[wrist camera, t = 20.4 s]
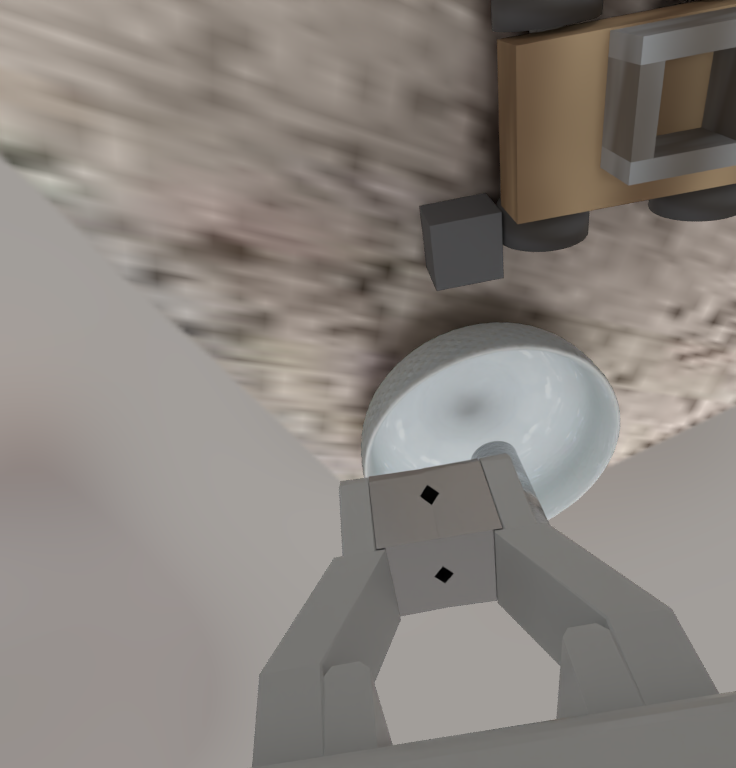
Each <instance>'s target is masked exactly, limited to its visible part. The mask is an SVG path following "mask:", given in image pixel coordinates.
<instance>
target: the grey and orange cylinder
mask: <svg viewBox="0 0 736 768" xmlns="http://www.w3.org/2000/svg"><path fill="white" fill-rule="evenodd" d="M504 453H507V454H508V455H509V456H510V458H511V460H512V463H513V465H514V468H515V470H516V472H517V475H518V477H519V480H520V482H521V485H522V487H523V490H524V492H525V494H526V497H527V499H528V502H529V504H530V507H531V509H532V511H533V514H534V516H535V519H536V521H537V524H538V523H548V524H549V522H548V520H547V518H546V515H545V513H544V511H543V509H542V507H541V504H540V502H539V500H538V498H537V496H536V494H535V491H534V489H533V487H532V485H531V483H530V480H529V478H528V476H527V474H526V472H525V469H524V467H523V465H522V463H521V461H520V459H519V456H518V454H517V452H516V450H515V448H514V447H513V446H512V445H511V444H509V443H507V442H504V441H493V442H489V443H486V444H484V445H482V446H480V447H479V448H478V449H477V450H476V451H475V452H474V453H473V455H472V457H471V459H478V458H482V457H487V456H493V455H498V454H504ZM549 525H550V524H549Z"/></svg>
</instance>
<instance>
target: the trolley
mask: <svg viewBox="0 0 736 768" xmlns="http://www.w3.org/2000/svg"><path fill="white" fill-rule="evenodd" d="M602 10H603V0H491V14H492V31H494V32H520V31H529V34H523V35H518V36H513V37H508V38H503V39H497V63H498V103H499V143H500V183H501V197H500V198H499V199H498V201H497V207H498V208H499V210H500V211H501V213H502V242H503V245H505V246H507V247H509V248H512V249H515V250H520V251H528V252H546V251H554V250H560V249H564V248H567V247H571V246H573V245H575V244H578V243H579V242H581V241H582V240H584V239H585V238H586V236H587V235H588V226H589V211H591V210H597V209H602V208H607V207H613V206H618V205H623V204H629V203H634V202H639V201H644V200H649V203H648V207H649V209H650V210H651V211H652V212H653V213H655V214H657V215H659V216H662V217H665V218H669V219H674V220H680V221H713V220H720V219H725V218H729V217H732V216H735V215H736V0H701V1H695V2H690V3H685V4H680V5H674V6H669V7H664V8H659V9H654V10H648V11H643V12H638V13H633V14H628V15H622V16H617V17H612V18H607V19H602V20H596V21H591V22H586V23H581V24H575V25H570V26H565V27H563V25H569V24H573V23H578V22H582V21H586V20H590V19H593V18H596V17H598V16H600V15H602Z"/></svg>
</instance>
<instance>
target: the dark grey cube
mask: <svg viewBox="0 0 736 768" xmlns="http://www.w3.org/2000/svg"><path fill="white" fill-rule="evenodd" d="M419 207H420V215H421V224H422V232H423V241H424V250H425V258H426V267H427V270H428V272H429V274H430V276H431V279H432V281H433V283H434V286H435V288H436V290H437V291H439V290H444V289H449V288H455V287H460V286H465V285H470V284H475V283H480V282H485V281H490V280H495V279H501V278H504V272H503V242H502V213H501V211H500V210H499V208H498V207H497V206H496V205H495V204H494V203H493V201H492V200H491V199H490V198H489V197H488V195H487V194H486V193H483V194H478V195H473V196H468V197H463V198H458V199H453V200H448V201H443V202H438V203H433V204H428V205H422V206H419Z"/></svg>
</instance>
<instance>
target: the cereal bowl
mask: <svg viewBox="0 0 736 768" xmlns="http://www.w3.org/2000/svg"><path fill="white" fill-rule="evenodd" d="M619 431H620V410H619V405H618V401H617V398H616V396H615V393H614V391H613V388H612V387H611V385H610V383H609V382H608V380H607V378H606V377H605V375H604V374H603V373H602V372H601V371H600V370H599V368H598V367H597V366H596V365H595V364H594V363H593V362H592V361H591V360H590V359H589V358H588V357H587V356H586V355H585V354H584V353H583V352H582V351H580V350H579V349H578V348H576V347H575V346H574V345H572V344H571V343H569V342H567V341H566V340H565V339H563V338H562V337H559V336H557V335H555V334H553V333H551V332H549V331H545V330H543V329H541V328H536V327H533V326H531V325H523V324H520V323H519V324H517V323H509V322H505V323H499V322H495V323H492V322H491V323H486V324H482V323H481V324H476V325H471V326H466V327H463V328H459V329H457V330H452V331H450V332H447V333H445V334H443V335H439V336H437V337H436V338H434V339H431V340H430V341H428V342H425V343H424V344H423V345H421V346H419V347H418V348H417V349H415V350H413V351H412V352H411V353H410V354H408V355H407V356H406V357H405V358H404V359H403V360H402V361H401V362H399V363H398V364H397V365H396V366H395V367H394V368H393V370H391V372H390V373H388V375H387V376H386V378H385V379H384V380H383V382H382V383H381V384H380V386H379V388H378V389H377V390H376V392H375V394H374V396H373V399H372V401H371V402H370V404H369V409H368V411H367V413H366V417H365V421H364V424H363V431H362V442H361V449H362V450H361V456H362V467H363V475H364V478H367V477H368V478H369V476H376V475H383V474H390V473H397V472H403V471H410V470H417V469H423V468H427V467H432V466H438V465H444V464H449V463H455V462H460V461H466V460H471V457H472V455H473V453H474V452H475V451H476V450H477V449H478V448H479V447H480V446H482V445H484V444H486V443H489V442H493V441H504V442H507V443H509V444H511V445H512V446H513V447H514V448H515V450H516V452H517V454H518V456H519V459H520V461H521V463H522V465H523V467H524V469H525V472H526V474H527V476H528V478H529V480H530V483H531V485H532V487H533V489H534V491H535V494H536V496H537V498H538V500H539V502H540V504H541V507H542V509H543V511H544V513H545V515H546V518H547V520H549V519H551V518H553V517H554V516H556V515H557V514H559V513H561V512H562V511H563V510H565V509H566V508H568V507H569V506H570V505H571V504H573V503H574V502H576V501H577V500H578V499H579V498H580V497H581V496H582V495H583V494H584V493H585V492H586V491H587V490H588V489H589V488H590V487H591V486H592V485H593V484H594V483H595V482H596V480H597V479H598V478H599V477H600V475H601V474H602V472H603V471H604V469H605V468H606V466H607V465H608V463H609V461H610V459H611V457H612V455H613V453H614V450H615V447H616V444H617V441H618V437H619Z"/></svg>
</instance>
